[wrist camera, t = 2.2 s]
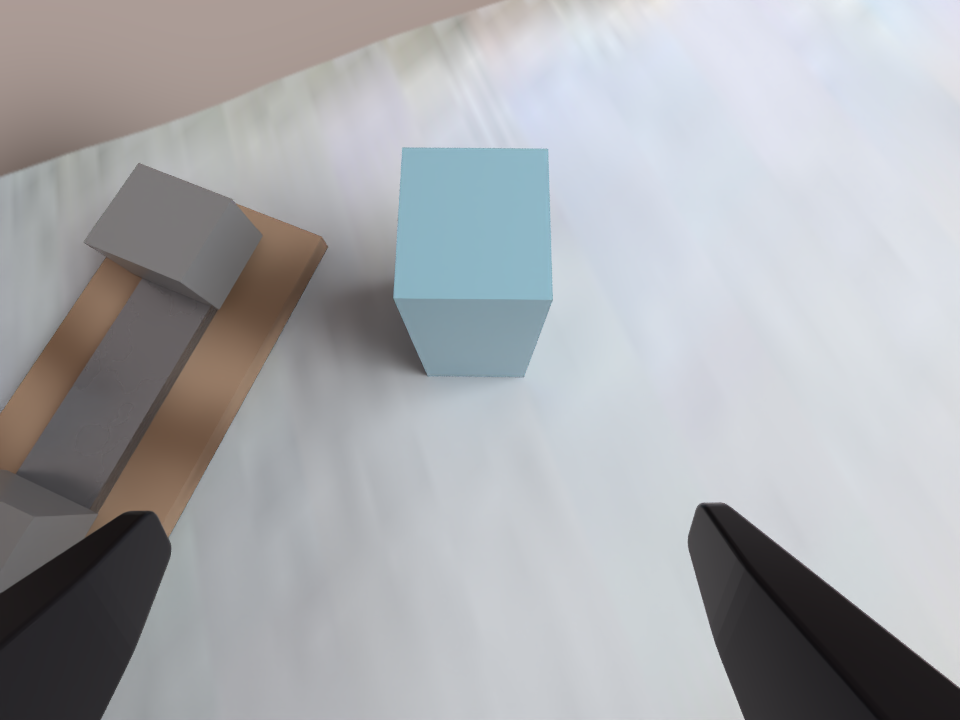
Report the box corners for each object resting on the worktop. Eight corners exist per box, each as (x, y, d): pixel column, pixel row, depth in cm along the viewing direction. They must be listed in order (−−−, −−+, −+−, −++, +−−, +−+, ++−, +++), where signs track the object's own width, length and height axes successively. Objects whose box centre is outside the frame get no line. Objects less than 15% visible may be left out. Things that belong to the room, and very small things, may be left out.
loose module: (522, 278, 24) (548, 148, 15) (523, 377, 23) (552, 299, 14) (431, 277, 24) (402, 147, 15) (427, 376, 23) (393, 298, 14)
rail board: (173, 186, 26) (161, 174, 25) (327, 246, 25) (321, 236, 24) (-80, 568, 21) (-107, 571, 20) (100, 660, 20) (81, 668, 19)
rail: (198, 209, 24) (191, 202, 24) (262, 234, 24) (256, 228, 23) (-36, 574, 20) (-52, 577, 19) (38, 612, 20) (25, 616, 19)
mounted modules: (180, 203, 24) (138, 162, 21) (262, 235, 23) (231, 199, 20) (-57, 566, 19) (-150, 578, 17) (39, 614, 19) (-40, 635, 16)
